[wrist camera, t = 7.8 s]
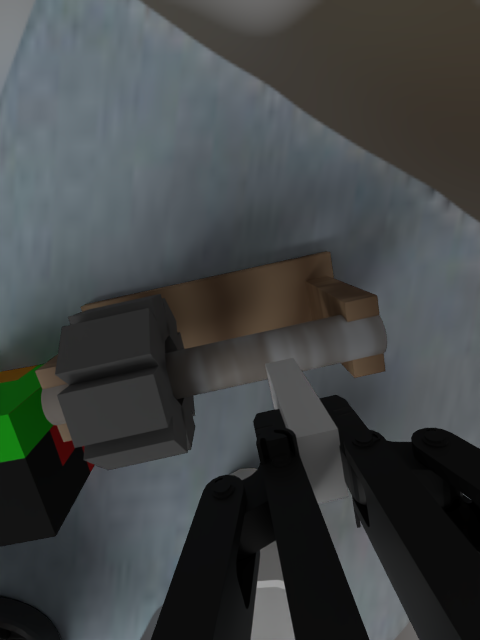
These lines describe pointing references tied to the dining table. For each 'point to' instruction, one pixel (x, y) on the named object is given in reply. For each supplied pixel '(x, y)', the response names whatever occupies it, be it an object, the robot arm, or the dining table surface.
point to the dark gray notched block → (123, 384)
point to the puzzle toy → (34, 463)
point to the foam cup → (269, 592)
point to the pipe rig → (255, 328)
